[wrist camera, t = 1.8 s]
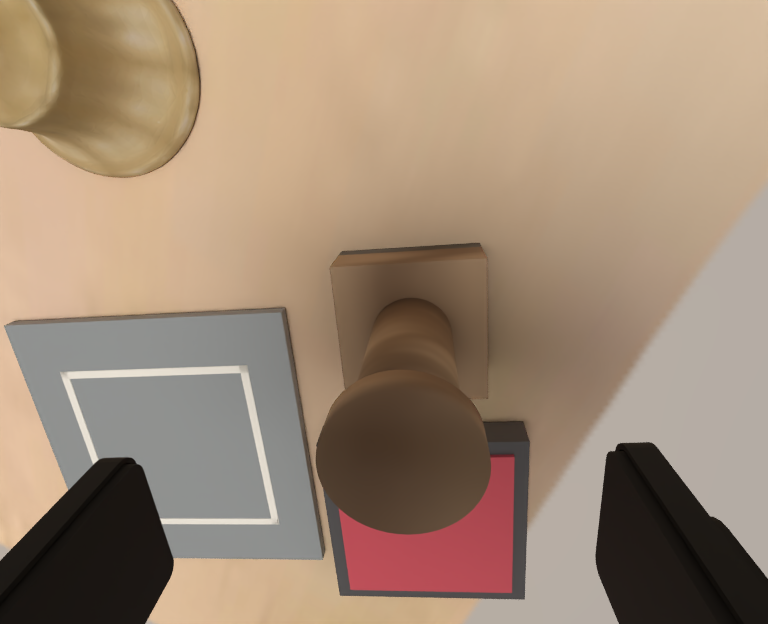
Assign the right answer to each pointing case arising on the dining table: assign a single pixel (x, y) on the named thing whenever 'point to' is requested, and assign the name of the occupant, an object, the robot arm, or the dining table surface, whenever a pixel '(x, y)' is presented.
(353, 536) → the ink pad
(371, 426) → the stamp
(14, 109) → the hand bell
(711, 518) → the robot arm
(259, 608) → the dining table surface
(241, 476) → the board
